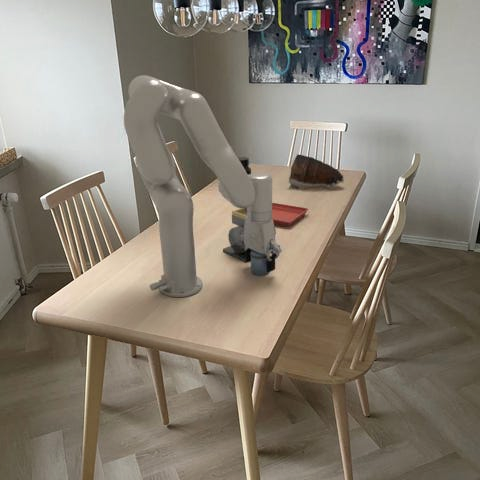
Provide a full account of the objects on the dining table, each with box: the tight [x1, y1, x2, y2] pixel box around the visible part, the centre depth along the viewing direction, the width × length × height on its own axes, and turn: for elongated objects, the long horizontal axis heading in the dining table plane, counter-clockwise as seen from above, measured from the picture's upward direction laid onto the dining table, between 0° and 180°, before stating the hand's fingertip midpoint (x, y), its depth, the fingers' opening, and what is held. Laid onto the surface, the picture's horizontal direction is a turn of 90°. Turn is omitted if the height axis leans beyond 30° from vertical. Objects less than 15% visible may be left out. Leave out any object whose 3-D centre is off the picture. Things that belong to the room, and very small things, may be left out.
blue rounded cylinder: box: [250, 250, 271, 277], centre depth 148 cm, size 6×6×7 cm
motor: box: [222, 208, 281, 263], centre depth 162 cm, size 16×12×14 cm
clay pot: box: [288, 154, 345, 190], centre depth 227 cm, size 15×15×25 cm
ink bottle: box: [237, 156, 252, 175], centre depth 239 cm, size 10×9×12 cm
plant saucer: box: [272, 202, 309, 228], centre depth 192 cm, size 18×18×3 cm
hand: (260, 265), depth 149 cm, fingers open, 9 cm apart
